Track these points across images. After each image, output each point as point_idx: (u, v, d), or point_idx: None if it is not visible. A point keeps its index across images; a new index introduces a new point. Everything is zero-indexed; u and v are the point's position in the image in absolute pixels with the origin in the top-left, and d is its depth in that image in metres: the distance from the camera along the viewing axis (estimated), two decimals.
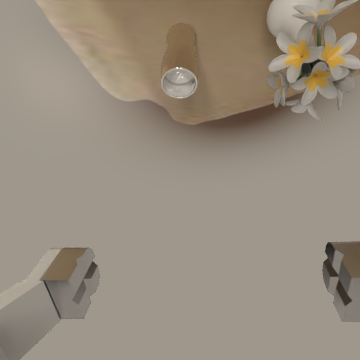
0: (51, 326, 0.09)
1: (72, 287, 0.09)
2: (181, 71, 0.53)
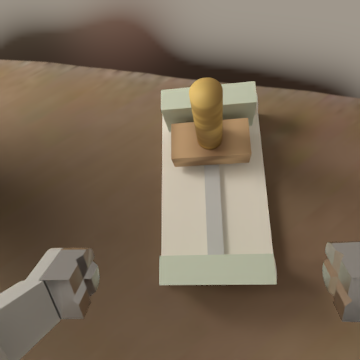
0: (51, 326, 0.09)
1: (72, 287, 0.09)
2: None
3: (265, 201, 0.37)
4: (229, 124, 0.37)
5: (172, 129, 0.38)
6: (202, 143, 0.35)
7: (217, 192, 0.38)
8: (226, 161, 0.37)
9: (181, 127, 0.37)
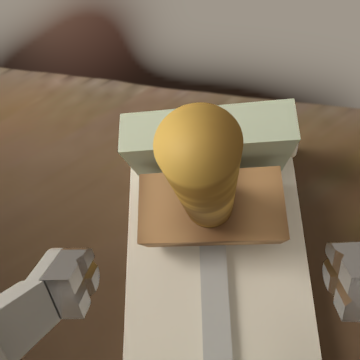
0: (51, 326, 0.09)
1: (72, 287, 0.09)
2: None
3: (311, 318, 0.20)
4: (245, 178, 0.20)
5: (141, 185, 0.21)
6: (194, 220, 0.18)
7: (223, 299, 0.21)
8: (239, 243, 0.20)
9: (157, 182, 0.21)
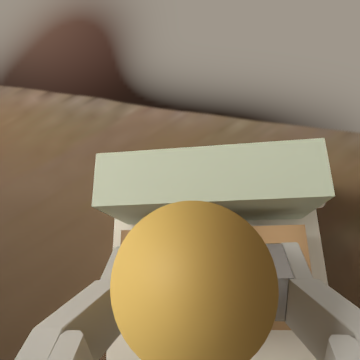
0: None
1: None
2: None
3: None
4: None
5: None
6: None
7: None
8: None
9: None
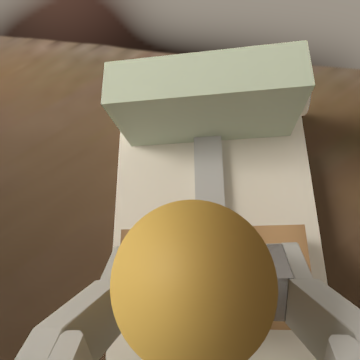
0: None
1: None
2: None
3: None
4: None
5: None
6: None
7: None
8: None
9: None
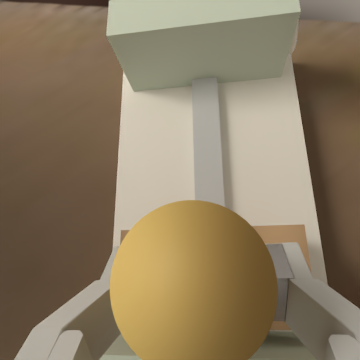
0: None
1: None
2: None
3: (312, 216, 0.19)
4: None
5: None
6: None
7: (218, 198, 0.19)
8: None
9: None
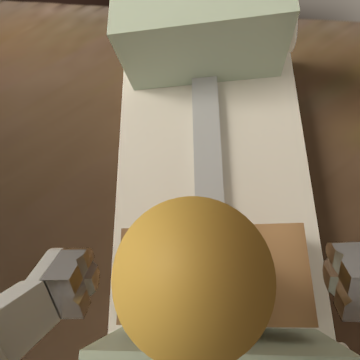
0: (51, 326, 0.09)
1: (72, 287, 0.09)
2: None
3: (311, 214, 0.19)
4: None
5: None
6: None
7: (218, 197, 0.20)
8: None
9: None
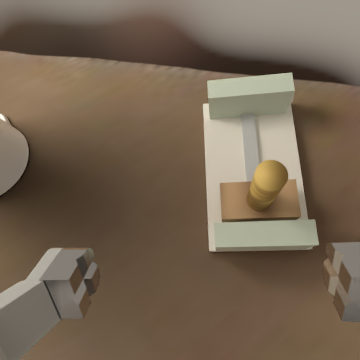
0: (51, 326, 0.09)
1: (72, 287, 0.09)
2: None
3: (300, 179, 0.42)
4: None
5: (221, 188, 0.39)
6: (254, 206, 0.36)
7: None
8: (273, 220, 0.39)
9: (230, 187, 0.39)
